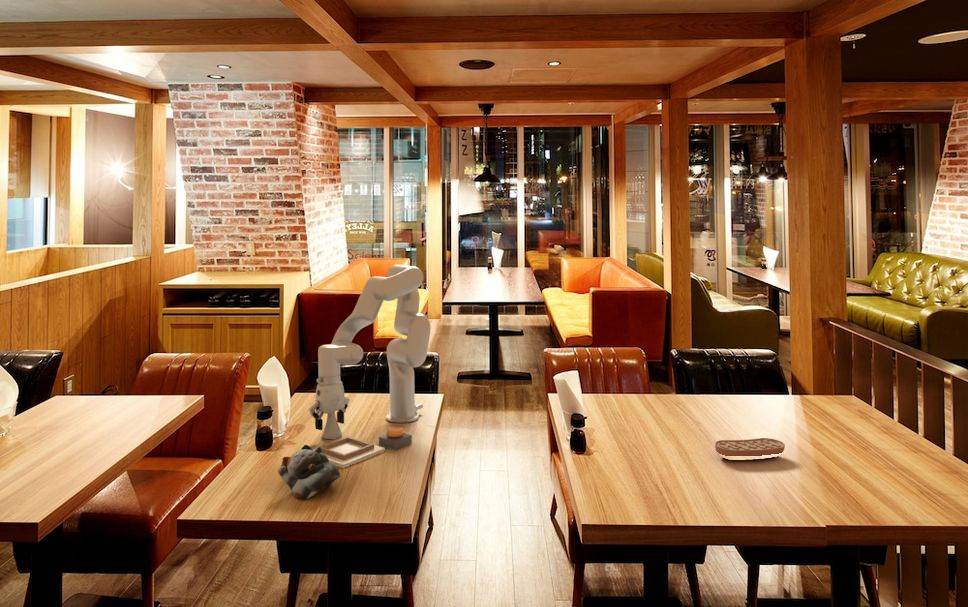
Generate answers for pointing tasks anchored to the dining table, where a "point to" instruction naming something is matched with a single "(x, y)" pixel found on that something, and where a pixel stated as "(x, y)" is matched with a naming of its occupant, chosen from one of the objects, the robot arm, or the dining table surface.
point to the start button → (395, 432)
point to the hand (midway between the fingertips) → (329, 426)
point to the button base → (395, 441)
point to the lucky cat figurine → (308, 472)
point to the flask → (331, 427)
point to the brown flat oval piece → (749, 447)
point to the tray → (349, 451)
